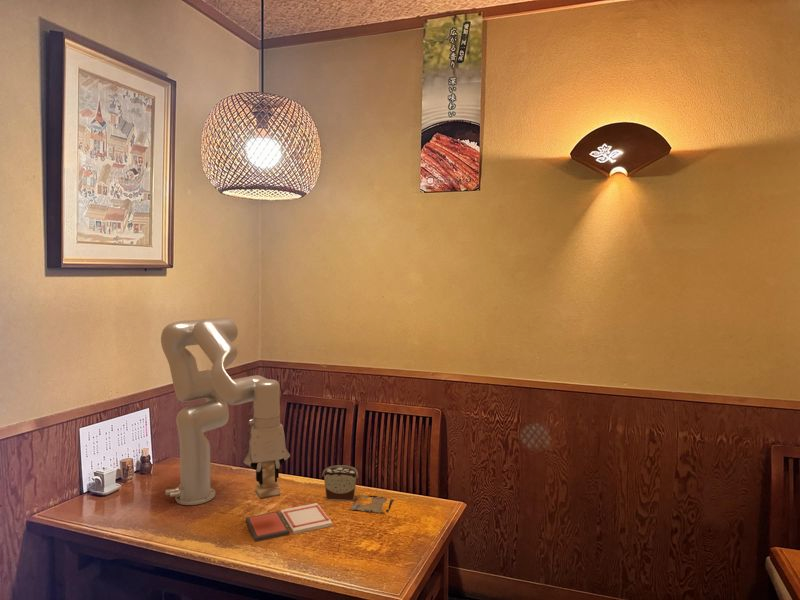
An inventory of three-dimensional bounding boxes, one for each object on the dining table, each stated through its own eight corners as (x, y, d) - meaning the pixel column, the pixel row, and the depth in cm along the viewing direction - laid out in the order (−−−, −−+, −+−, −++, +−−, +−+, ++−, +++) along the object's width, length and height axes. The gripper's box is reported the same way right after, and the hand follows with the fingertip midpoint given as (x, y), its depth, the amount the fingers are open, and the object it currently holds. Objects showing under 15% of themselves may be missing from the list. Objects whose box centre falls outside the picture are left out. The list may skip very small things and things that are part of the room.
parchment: (387, 515, 171) (387, 512, 171) (348, 511, 174) (348, 508, 174) (395, 499, 183) (395, 496, 183) (358, 495, 186) (358, 493, 186)
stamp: (259, 499, 157) (259, 462, 156) (255, 491, 163) (254, 455, 162) (280, 495, 160) (279, 458, 159) (275, 488, 165) (274, 452, 165)
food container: (361, 493, 187) (361, 465, 186) (357, 501, 181) (358, 472, 180) (326, 491, 188) (326, 463, 187) (322, 499, 182) (322, 470, 181)
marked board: (293, 534, 158) (293, 530, 158) (280, 513, 171) (280, 509, 171) (332, 525, 163) (332, 522, 163) (316, 506, 177) (316, 502, 177)
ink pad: (255, 541, 153) (255, 537, 153) (245, 520, 166) (245, 517, 166) (289, 534, 158) (289, 530, 158) (278, 514, 170) (277, 510, 170)
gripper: (240, 428, 153) (241, 491, 154) (297, 421, 160) (298, 481, 161) (235, 421, 160) (236, 482, 161) (291, 415, 167) (291, 473, 168)
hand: (267, 481), depth 161 cm, fingers closed on stamp, 3 cm apart
